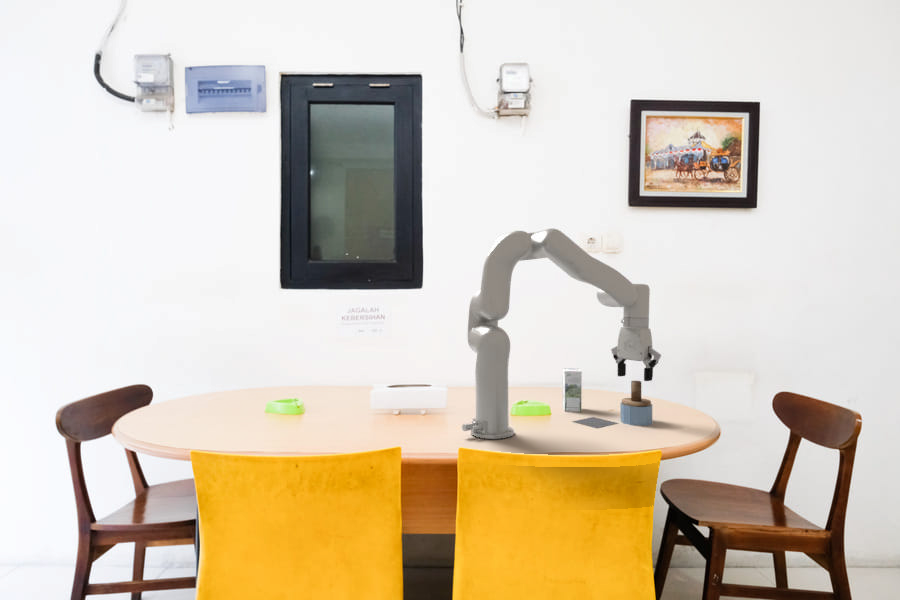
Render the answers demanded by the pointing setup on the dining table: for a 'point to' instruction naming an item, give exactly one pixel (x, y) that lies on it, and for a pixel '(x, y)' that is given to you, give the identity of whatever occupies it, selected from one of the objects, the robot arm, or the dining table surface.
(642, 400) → the lid
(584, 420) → the mat
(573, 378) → the syrup box
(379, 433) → the dining table surface
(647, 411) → the blue round pot
